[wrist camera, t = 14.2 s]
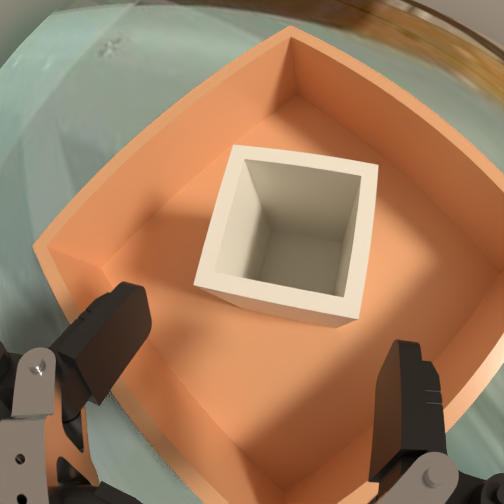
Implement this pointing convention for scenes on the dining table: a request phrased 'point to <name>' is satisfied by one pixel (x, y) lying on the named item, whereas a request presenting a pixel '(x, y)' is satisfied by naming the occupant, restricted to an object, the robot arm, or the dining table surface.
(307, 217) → the small crate
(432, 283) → the large crate
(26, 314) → the dining table surface
